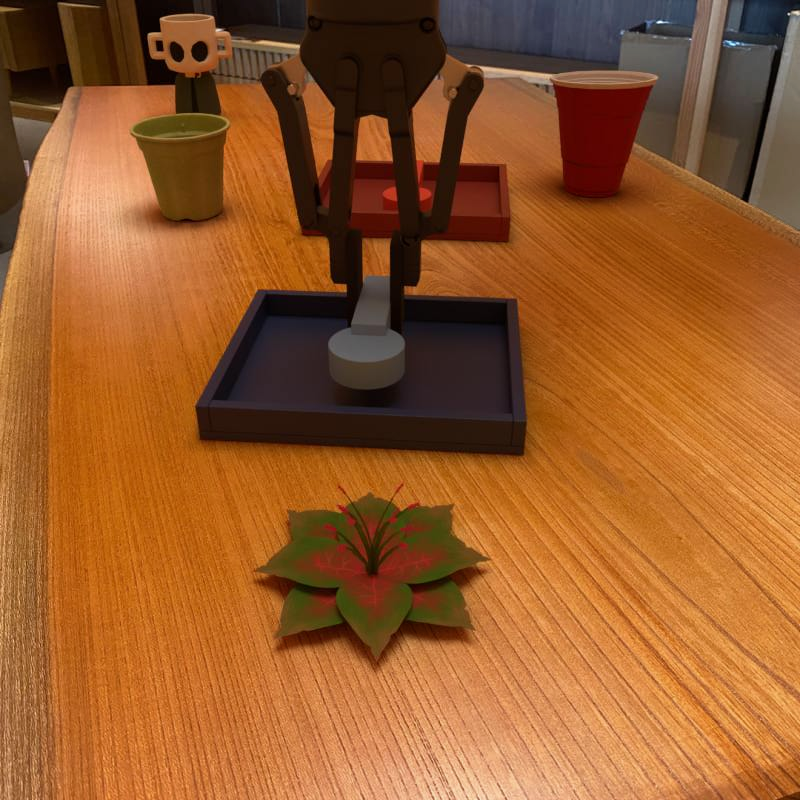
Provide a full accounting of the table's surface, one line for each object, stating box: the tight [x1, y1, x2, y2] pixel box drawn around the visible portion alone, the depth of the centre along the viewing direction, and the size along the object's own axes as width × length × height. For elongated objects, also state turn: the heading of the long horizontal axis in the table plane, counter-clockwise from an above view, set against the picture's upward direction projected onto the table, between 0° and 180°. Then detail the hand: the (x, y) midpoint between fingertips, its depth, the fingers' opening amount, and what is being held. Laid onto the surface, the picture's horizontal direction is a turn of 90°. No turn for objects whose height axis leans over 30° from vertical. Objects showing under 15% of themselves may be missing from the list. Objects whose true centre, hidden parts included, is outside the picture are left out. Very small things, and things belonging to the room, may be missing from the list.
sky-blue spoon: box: [328, 274, 405, 390], centre depth 55 cm, size 5×11×3 cm, turn 175°
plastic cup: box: [549, 70, 659, 198], centre depth 88 cm, size 11×11×12 cm
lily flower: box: [251, 482, 493, 662], centre depth 40 cm, size 12×12×5 cm
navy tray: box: [194, 288, 528, 456], centre depth 57 cm, size 20×17×2 cm
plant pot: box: [128, 113, 231, 222], centre depth 83 cm, size 9×9×9 cm
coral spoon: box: [383, 159, 432, 212], centre depth 85 cm, size 5×11×3 cm, turn 175°
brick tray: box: [300, 159, 512, 242], centre depth 85 cm, size 20×17×2 cm
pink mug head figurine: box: [147, 13, 234, 116], centre depth 113 cm, size 11×7×13 cm, turn 96°
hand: (376, 325), depth 58 cm, fingers closed on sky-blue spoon, 2 cm apart
